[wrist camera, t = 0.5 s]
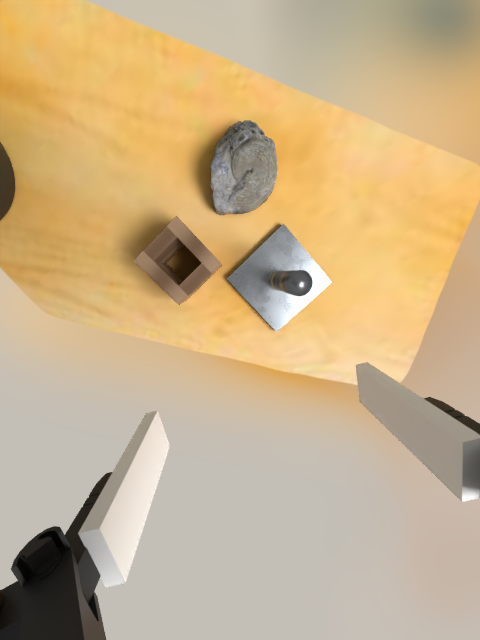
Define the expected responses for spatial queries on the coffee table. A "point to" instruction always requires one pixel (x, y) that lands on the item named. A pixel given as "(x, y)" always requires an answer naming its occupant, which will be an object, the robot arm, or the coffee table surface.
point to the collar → (165, 249)
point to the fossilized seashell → (242, 169)
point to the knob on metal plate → (279, 278)
